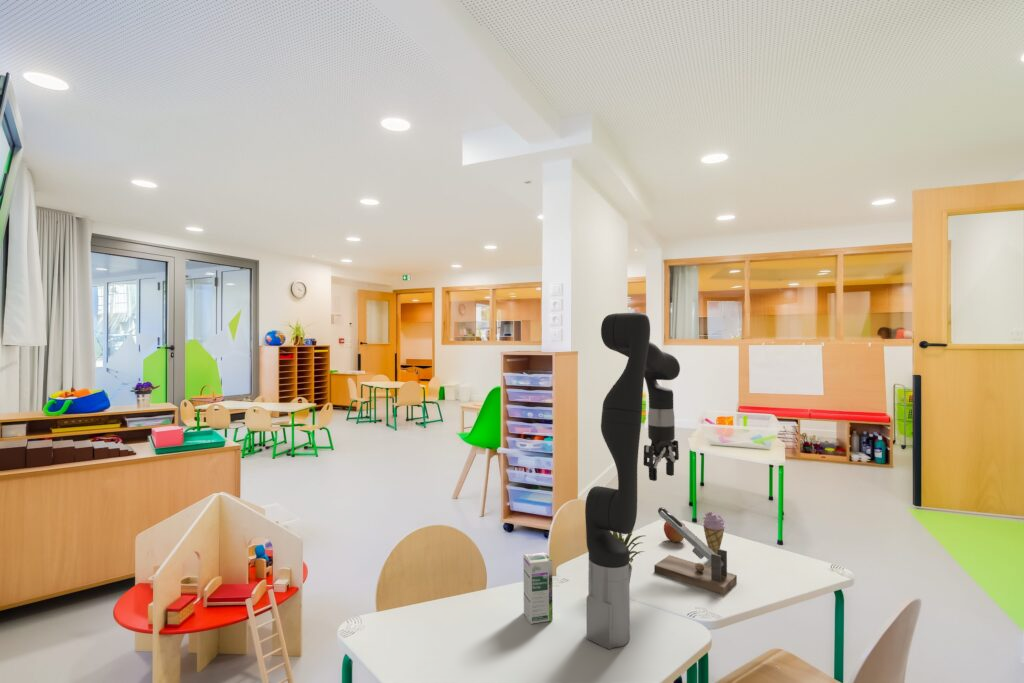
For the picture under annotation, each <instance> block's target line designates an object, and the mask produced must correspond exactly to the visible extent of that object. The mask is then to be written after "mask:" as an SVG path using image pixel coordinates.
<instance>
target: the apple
mask: <svg viewBox="0 0 1024 683" xmlns="http://www.w3.org/2000/svg"><path fill="white" fill-rule="evenodd" d="M680 522H681V523H682V524H683V525H684V526H686V524H685V523H683V522H682V521H680ZM663 532H664V535H665V537H666V539H668V540H669V541H670V542H671V543H673V542H674V543H676V542H677V543H681V542H682V541H684V539H685V538H684V537H683V536H682V535H680V534H679V533H678V532H677V531H676V530H675V529H674V528H673V527H672V526H671V525H670V524H668V523H667V522H666V521H665V522H664V524H663Z"/></svg>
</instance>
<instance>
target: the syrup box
mask: <svg viewBox="0 0 1024 683" xmlns="http://www.w3.org/2000/svg"><path fill="white" fill-rule="evenodd" d="M522 558H523V559H522V560H523V613H524V615H525V617H526V618H527V621H528V623H529V624H530V625H533V624H538V623H544V622H545V623H546V622H552V621H553V615H554V614H553V609H554V608H553V559H551V557H550V556H549V554H547V553H546V551H544V552H539V553H538V552H537V553H529V554H527V553H525V554H523V557H522Z"/></svg>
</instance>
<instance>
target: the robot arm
mask: <svg viewBox="0 0 1024 683" xmlns="http://www.w3.org/2000/svg"><path fill="white" fill-rule="evenodd" d="M650 323H651V322H650V318H649V316H648V315H647V314H646V313H644V312H619V313H617V312H616V313H611V314H608V315H606V316H605V317H604V318H603V320H602V323H601V326H600V335H601V336H600V338H601V340H602V342H603V345H604V346H605V347H606V348H608V349H609V350H612V351H614V352H617V353H619V354H621V355H623V356H625V357H627V363H626V366H625V368H624V370H623V371H622V373H621V375H620V376H619V377H618V379H617V380H616V381H615V383H614V384H613V385H612V387H611V388H610V390H609V391H608V393H607V394H606V396H605V398H604V400H603V402H602V406H601V407H602V410H601V419H600V430H601V435H602V437H603V440H604V443H605V444H606V447H607V448H608V451H609V453H610V454H611V457H612V458H613V460H614V464H615V467H616V471H617V481H618V483H617V489H616V488H611V487H605V486H599V485H596V486H592V488H590V490H589V491H588V493H587V496H586V500H585V505H584V506H585V510H584V513H585V516H584V517H585V534H586V535H585V537H586V548H587V551H588V575H587V576H588V578H587V579H588V582H587V583H588V588H587V589H588V595H587V596H586V639H587V640H589V641H591V642H593V643H595V644H597V645H599V646H601V647H603V648H605V649H607V650H612V649H613V648H620V647H623V646H626V645H627V644H628V643H629V642H630V636H631V635H630V632H631V631H630V630H631V629H630V627H631V626H630V625H631V624H630V622H631V620H630V619H631V618H630V617H631V616H630V613H631V612H630V610H631V609H630V607H631V606H630V604H631V602H630V584H629V563H630V558H631V557H630V555H631V554H629V551H630V549H629V548H628V547H627V546H626V545H625V544H624V543H622V542H621V541H619V540H618V539H617V538H616V537H614V536H613V532H617V534H619V533H621V534H622V535H628V534H629V533H630V532H631V531H632V530H633V529H635V525H636V522H637V514H638V465H639V464H638V463H639V449H640V448H639V447H640V438H641V429H642V428H641V427H642V418H643V401H644V400H643V398H644V396H643V395H644V381H645V385H646V388H647V392H648V414H647V431H648V432H647V433H648V434H647V435H648V436H647V438H648V439H649V440H650V441H651V444H650V445H648V444H645V445H643V466H645V467H648V479H649V480H650V481H651V482H652V481H653V482H656V481H657V480H658V468H657V467H658V464H659V463H660V462H661V461H662V459H664V460H665V461H666V463H665V473H666V476H671V477H674V475H675V463H676V461H679V459H680V456H679V455H680V454H679V441H678V440H675V438H676V437H675V436H676V435H675V427H676V426H675V410H674V391H673V390H672V389H671V388H667V387H664V386H661V385H660V384H659V382H658V381H672V380H675V379H677V377H678V376H679V374H680V371H681V366H680V362H679V361H678V359H677V358H676V357H675V355H672V354H670V353H668V352H665V351H662V349H660V348H659V347H658V346H657V345H656V344H654V343H653V342H652V341H650V340H651V339H650V338H651V324H650ZM657 380H658V381H657ZM633 531H634V530H633Z"/></svg>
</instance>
